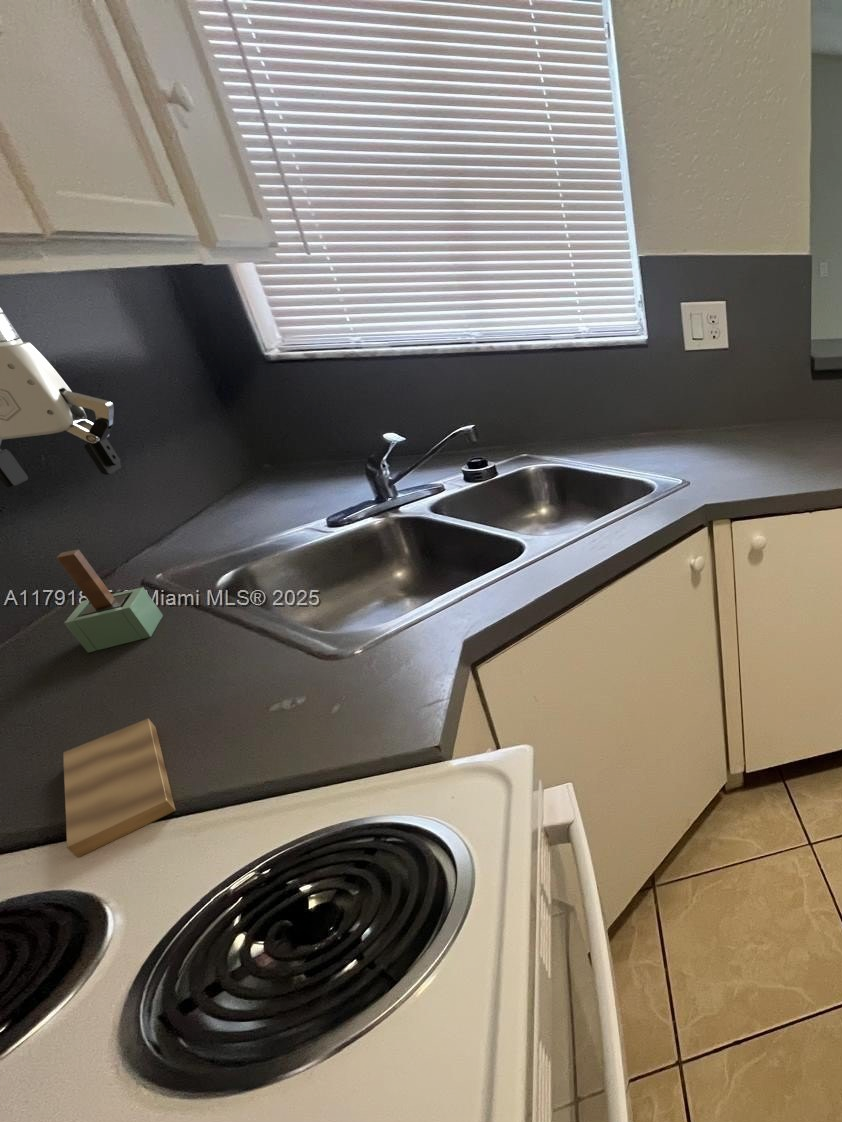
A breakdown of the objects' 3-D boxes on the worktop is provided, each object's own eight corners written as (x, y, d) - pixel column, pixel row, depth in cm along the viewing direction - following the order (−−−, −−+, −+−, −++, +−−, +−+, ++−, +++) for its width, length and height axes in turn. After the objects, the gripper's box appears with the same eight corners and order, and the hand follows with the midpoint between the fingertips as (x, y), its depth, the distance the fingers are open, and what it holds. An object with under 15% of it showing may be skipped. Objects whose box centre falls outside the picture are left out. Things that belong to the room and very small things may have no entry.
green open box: (87, 653, 86) (63, 623, 84) (103, 630, 91) (81, 600, 89) (151, 637, 89) (129, 607, 86) (163, 615, 94) (143, 586, 92)
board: (72, 762, 68) (62, 752, 67) (156, 727, 72) (148, 718, 71) (77, 858, 57) (66, 847, 56) (176, 811, 61) (167, 800, 60)
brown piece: (104, 644, 88) (41, 563, 81) (113, 631, 91) (53, 551, 84) (141, 635, 90) (82, 554, 83) (148, 622, 93) (92, 543, 86)
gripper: (-165, 348, 66) (-43, 499, 75) (42, 331, 71) (133, 475, 80) (-106, 338, 72) (0, 479, 81) (81, 323, 77) (161, 458, 86)
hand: (66, 477), depth 81 cm, fingers open, 9 cm apart
